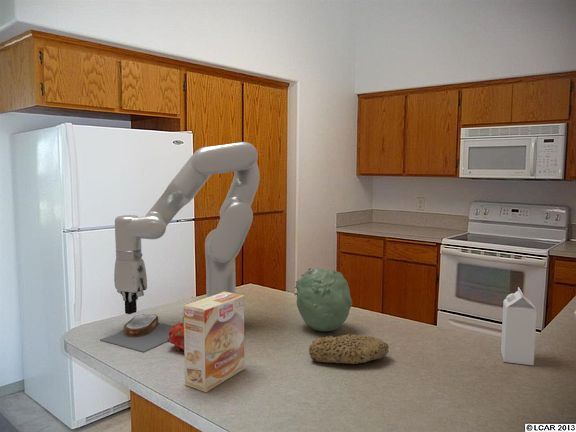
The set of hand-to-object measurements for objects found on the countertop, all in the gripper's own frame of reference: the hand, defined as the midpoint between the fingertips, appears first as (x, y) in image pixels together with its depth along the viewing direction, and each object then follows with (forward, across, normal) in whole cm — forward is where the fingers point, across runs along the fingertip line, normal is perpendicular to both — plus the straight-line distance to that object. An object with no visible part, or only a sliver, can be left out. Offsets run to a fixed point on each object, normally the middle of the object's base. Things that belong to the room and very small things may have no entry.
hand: (130, 312), depth 143 cm
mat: (+6, -7, 0) cm, 9 cm away
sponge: (+6, -68, -14) cm, 69 cm away
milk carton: (+6, -107, -36) cm, 113 cm away
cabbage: (+6, -52, -31) cm, 61 cm away
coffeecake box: (+6, -43, +12) cm, 45 cm away
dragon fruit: (+6, -25, +2) cm, 26 cm away
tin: (+4, +2, -1) cm, 5 cm away
